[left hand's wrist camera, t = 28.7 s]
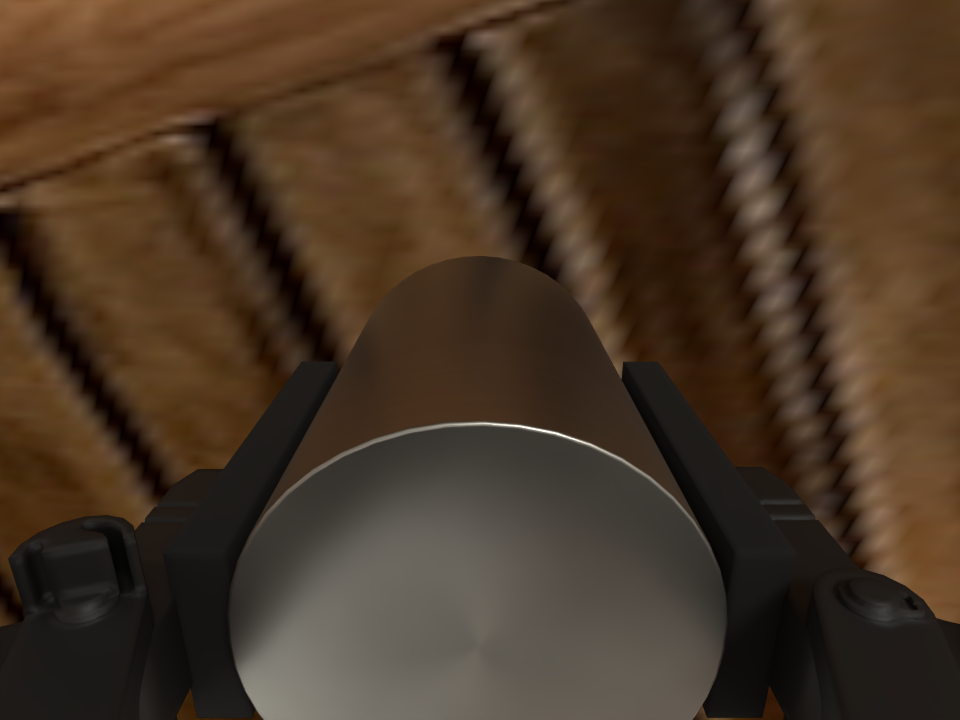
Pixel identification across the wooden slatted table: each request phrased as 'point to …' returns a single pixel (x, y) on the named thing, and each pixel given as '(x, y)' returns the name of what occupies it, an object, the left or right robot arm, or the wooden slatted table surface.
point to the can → (477, 528)
